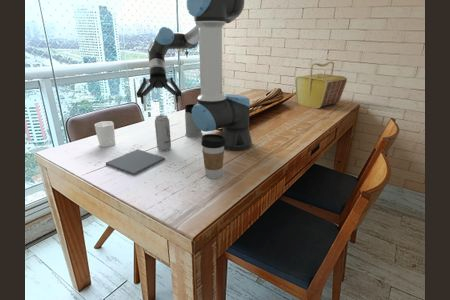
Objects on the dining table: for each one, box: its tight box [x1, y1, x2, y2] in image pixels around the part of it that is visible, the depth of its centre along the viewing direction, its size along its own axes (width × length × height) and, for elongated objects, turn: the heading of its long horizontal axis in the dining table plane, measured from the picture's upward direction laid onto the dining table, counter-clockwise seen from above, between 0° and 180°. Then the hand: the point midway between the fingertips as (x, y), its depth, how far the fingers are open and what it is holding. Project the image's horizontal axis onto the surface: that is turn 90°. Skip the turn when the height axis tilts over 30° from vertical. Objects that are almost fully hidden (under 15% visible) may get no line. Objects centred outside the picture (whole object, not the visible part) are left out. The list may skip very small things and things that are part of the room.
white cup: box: [94, 120, 116, 148], centre depth 124 cm, size 8×8×10 cm
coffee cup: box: [200, 133, 226, 180], centre depth 96 cm, size 8×8×15 cm
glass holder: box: [184, 103, 203, 139], centre depth 138 cm, size 9×14×15 cm, turn 152°
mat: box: [105, 148, 166, 176], centre depth 108 cm, size 16×16×1 cm
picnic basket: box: [294, 61, 348, 110], centre depth 197 cm, size 29×26×30 cm
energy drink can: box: [154, 114, 172, 152], centre depth 118 cm, size 6×6×15 cm
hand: (160, 109), depth 124 cm, fingers open, 13 cm apart
